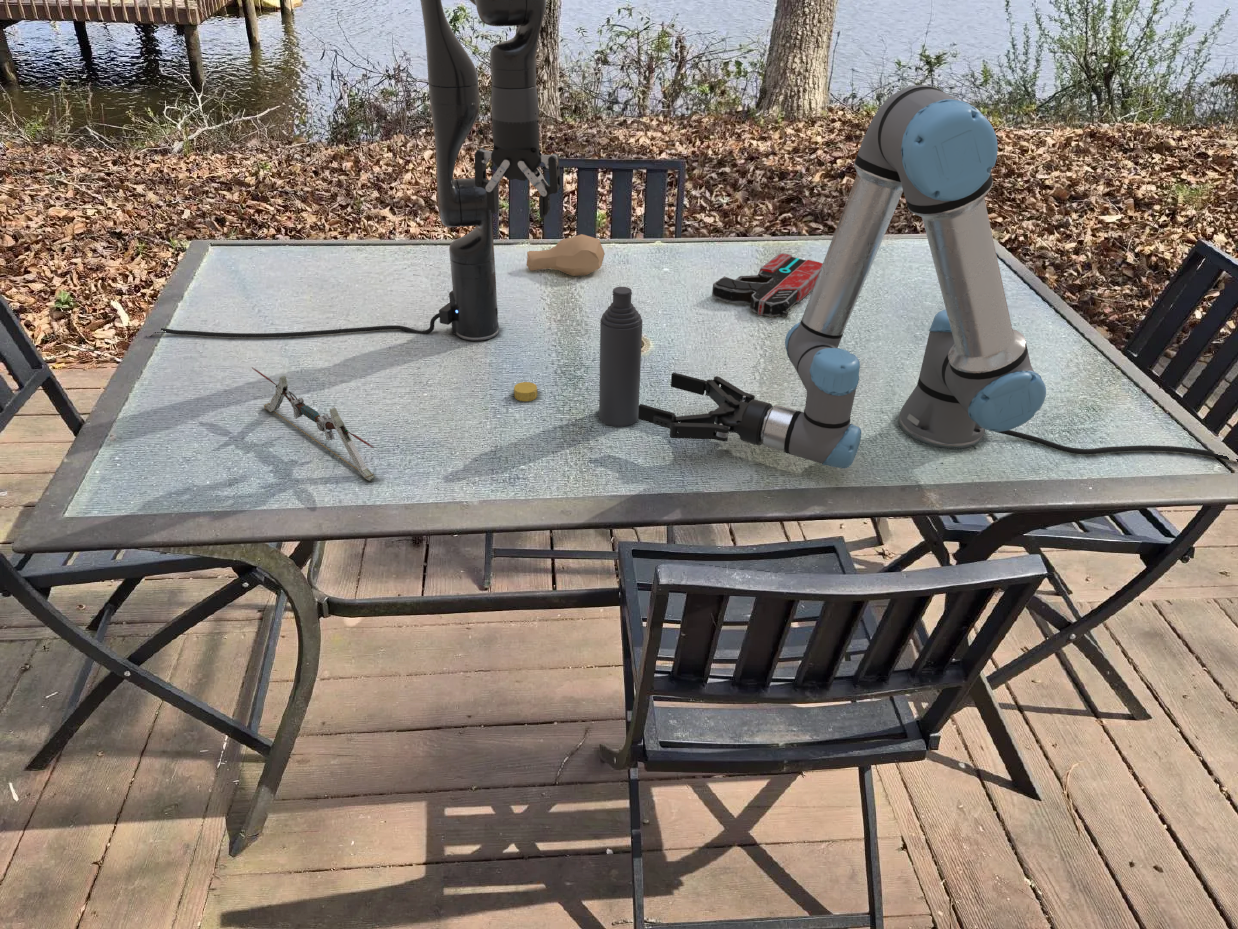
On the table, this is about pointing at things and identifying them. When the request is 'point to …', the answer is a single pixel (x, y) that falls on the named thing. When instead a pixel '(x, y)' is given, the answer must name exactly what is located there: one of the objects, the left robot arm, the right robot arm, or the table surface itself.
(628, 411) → the bottle
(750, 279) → the gun
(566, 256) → the squash
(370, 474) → the bow
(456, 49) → the left robot arm
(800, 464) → the table surface
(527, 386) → the cap
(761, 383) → the table surface
